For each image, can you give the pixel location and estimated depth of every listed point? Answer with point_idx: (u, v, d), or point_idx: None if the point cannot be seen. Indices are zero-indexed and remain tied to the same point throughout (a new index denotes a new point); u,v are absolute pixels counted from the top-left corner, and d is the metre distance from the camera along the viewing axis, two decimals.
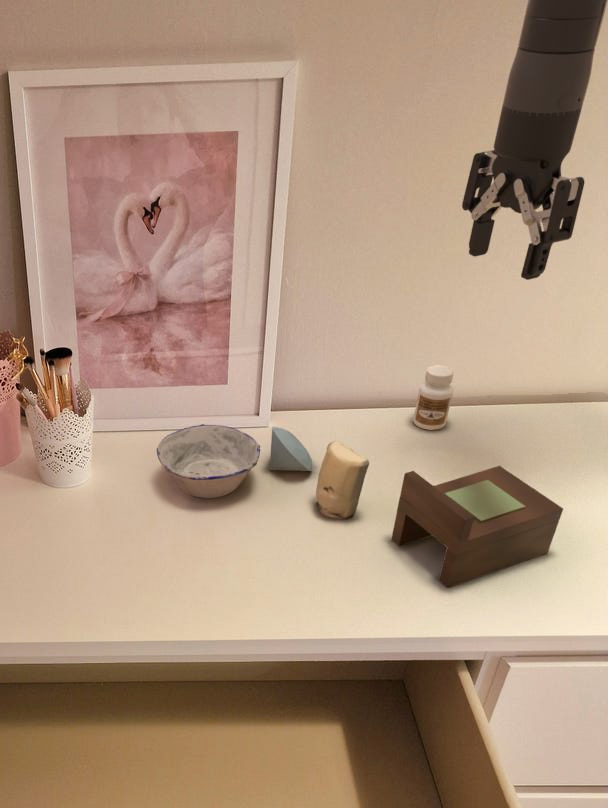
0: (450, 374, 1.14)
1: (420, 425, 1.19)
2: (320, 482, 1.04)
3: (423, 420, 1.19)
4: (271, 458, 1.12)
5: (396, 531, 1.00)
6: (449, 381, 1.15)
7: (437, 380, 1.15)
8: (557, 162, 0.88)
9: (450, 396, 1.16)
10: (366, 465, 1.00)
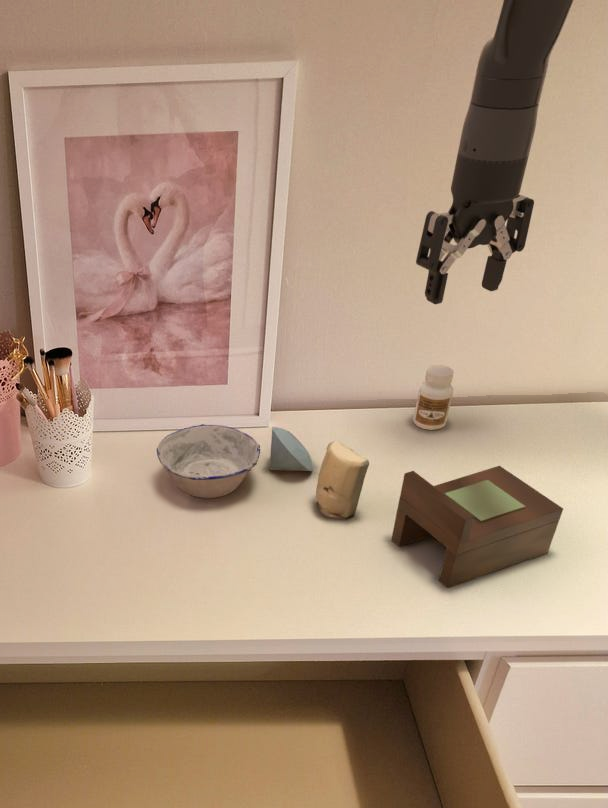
0: (450, 374, 1.14)
1: (420, 425, 1.19)
2: (320, 482, 1.04)
3: (423, 420, 1.19)
4: (271, 458, 1.12)
5: (396, 531, 1.00)
6: (449, 381, 1.15)
7: (437, 380, 1.15)
8: (458, 201, 0.99)
9: (450, 396, 1.16)
10: (366, 465, 1.00)
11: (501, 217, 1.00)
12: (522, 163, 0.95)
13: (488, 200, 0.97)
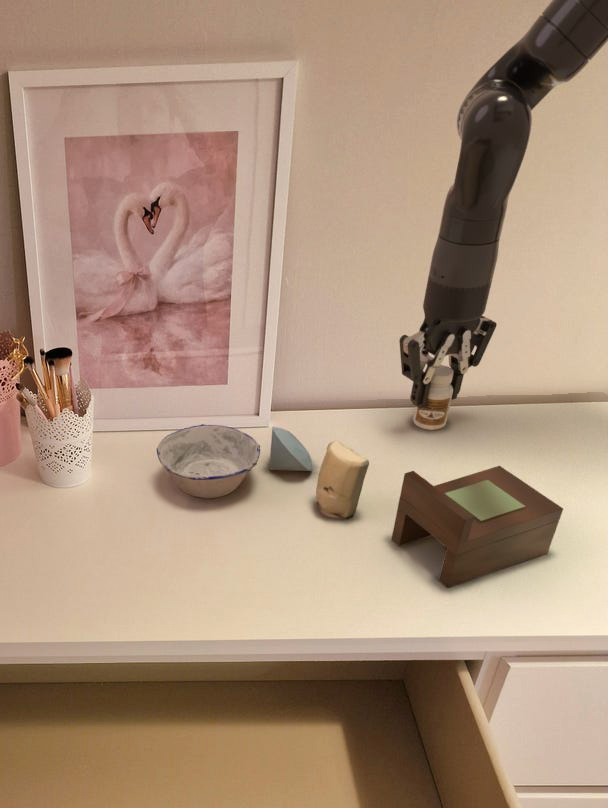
0: (450, 374, 1.14)
1: (420, 425, 1.19)
2: (320, 482, 1.04)
3: (423, 420, 1.19)
4: (271, 458, 1.12)
5: (396, 531, 1.00)
6: (449, 381, 1.15)
7: (437, 380, 1.15)
8: (429, 319, 1.09)
9: (450, 396, 1.16)
10: (366, 465, 1.00)
11: (469, 332, 1.11)
12: (486, 288, 1.05)
13: (455, 320, 1.07)
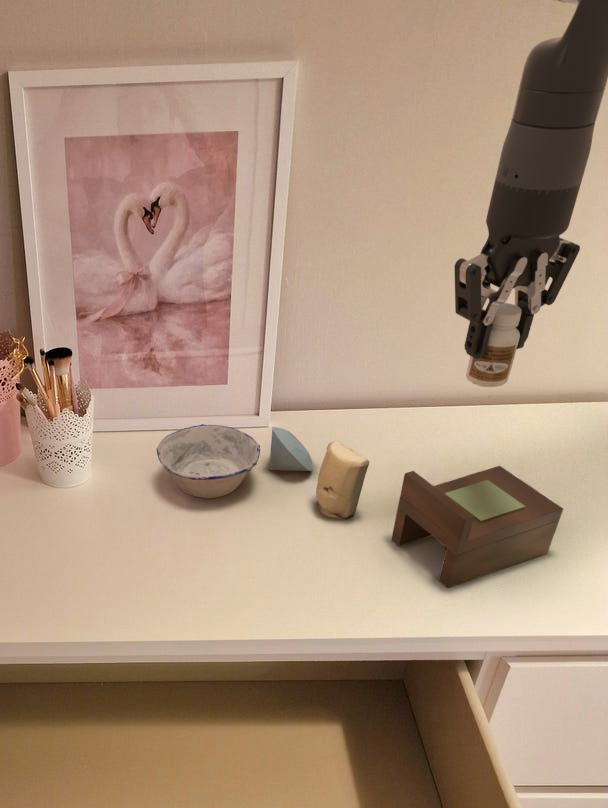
0: (518, 313, 0.89)
1: (475, 381, 0.93)
2: (320, 482, 1.04)
3: (480, 374, 0.93)
4: (271, 458, 1.12)
5: (396, 531, 1.00)
6: (516, 323, 0.89)
7: (501, 321, 0.89)
8: (494, 236, 0.83)
9: (516, 343, 0.90)
10: (366, 465, 1.00)
11: (546, 255, 0.85)
12: (573, 192, 0.79)
13: (531, 236, 0.81)
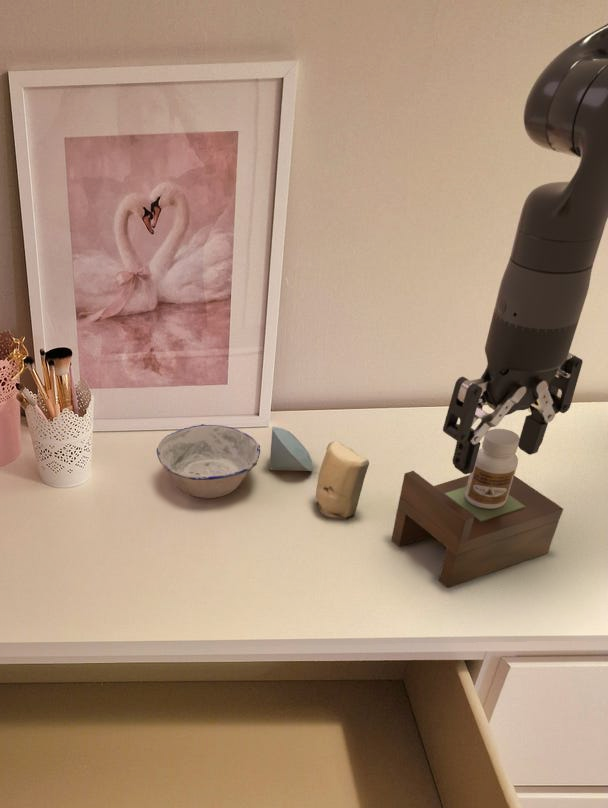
0: (516, 442, 0.90)
1: (474, 503, 0.94)
2: (320, 482, 1.04)
3: (478, 497, 0.94)
4: (271, 458, 1.12)
5: (396, 531, 1.00)
6: (514, 451, 0.90)
7: (499, 449, 0.90)
8: (493, 367, 0.84)
9: (514, 469, 0.91)
10: (366, 465, 1.00)
11: (544, 382, 0.85)
12: (572, 329, 0.80)
13: (530, 369, 0.82)
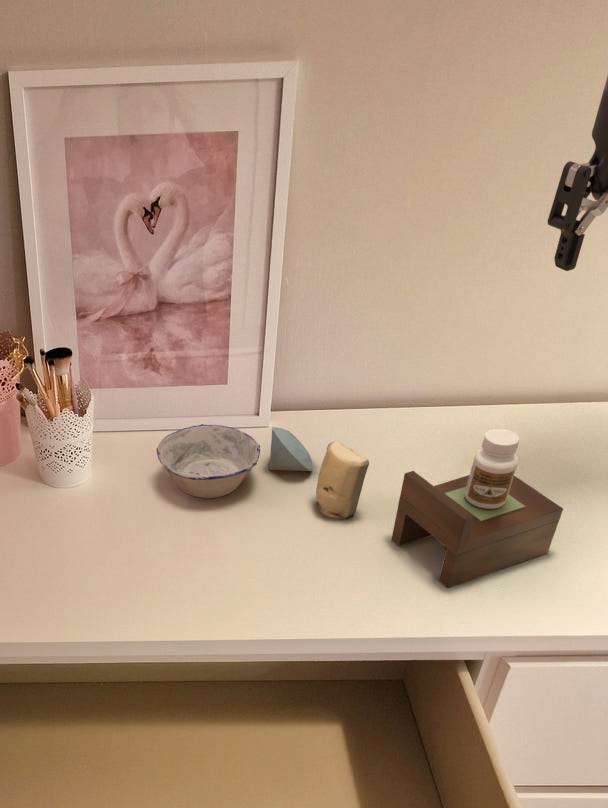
0: (516, 442, 0.90)
1: (474, 503, 0.94)
2: (320, 482, 1.04)
3: (478, 497, 0.94)
4: (271, 458, 1.12)
5: (396, 531, 1.00)
6: (514, 450, 0.90)
7: (499, 449, 0.90)
8: (602, 149, 0.85)
9: (514, 469, 0.91)
10: (366, 465, 1.00)
11: None
12: None
13: None
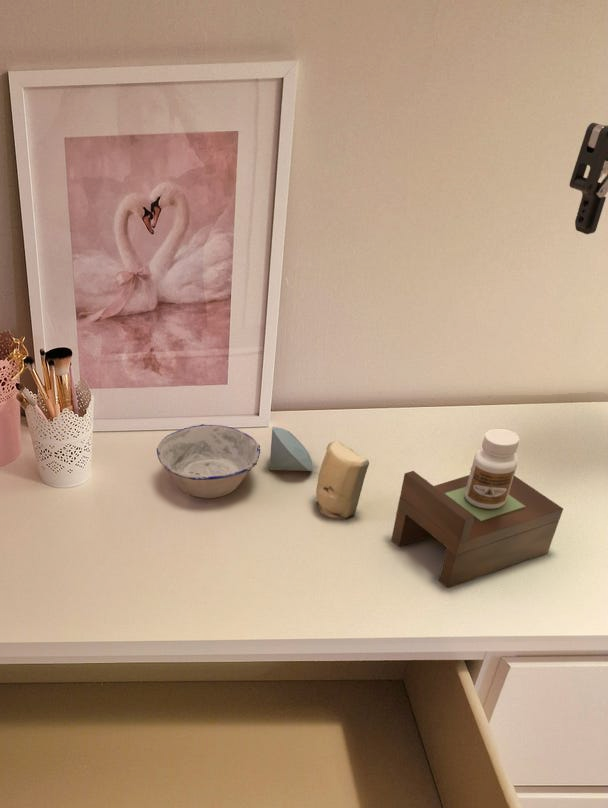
0: (516, 442, 0.90)
1: (474, 503, 0.94)
2: (320, 482, 1.04)
3: (478, 497, 0.94)
4: (271, 458, 1.12)
5: (396, 531, 1.00)
6: (514, 450, 0.90)
7: (499, 449, 0.90)
8: None
9: (514, 469, 0.91)
10: (366, 465, 1.00)
11: None
12: None
13: None
